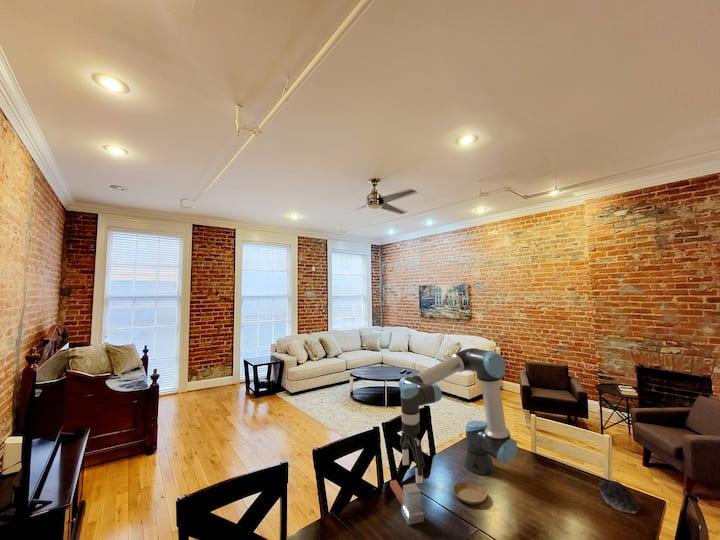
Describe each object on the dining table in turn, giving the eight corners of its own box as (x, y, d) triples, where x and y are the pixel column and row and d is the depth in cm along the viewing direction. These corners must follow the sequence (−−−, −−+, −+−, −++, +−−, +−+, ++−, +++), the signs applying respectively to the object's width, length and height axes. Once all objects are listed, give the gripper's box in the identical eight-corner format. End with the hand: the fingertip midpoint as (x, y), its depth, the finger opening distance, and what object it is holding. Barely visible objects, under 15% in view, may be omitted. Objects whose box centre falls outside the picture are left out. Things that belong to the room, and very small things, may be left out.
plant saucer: (470, 512, 135) (470, 505, 136) (446, 492, 148) (446, 487, 149) (494, 501, 142) (494, 495, 142) (469, 483, 155) (469, 478, 155)
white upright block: (403, 506, 135) (403, 485, 135) (415, 504, 136) (415, 483, 137) (408, 515, 129) (408, 493, 130) (421, 513, 131) (420, 490, 131)
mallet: (386, 486, 153) (386, 470, 154) (399, 484, 155) (399, 468, 155) (408, 524, 128) (407, 505, 129) (423, 521, 130) (423, 502, 130)
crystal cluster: (644, 508, 138) (641, 483, 139) (634, 518, 130) (631, 491, 132) (607, 494, 148) (605, 471, 150) (596, 503, 141) (593, 479, 142)
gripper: (391, 412, 146) (393, 459, 145) (415, 436, 122) (417, 493, 121) (406, 409, 148) (408, 456, 147) (432, 433, 124) (434, 489, 123)
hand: (412, 473), depth 134 cm, fingers open, 13 cm apart
